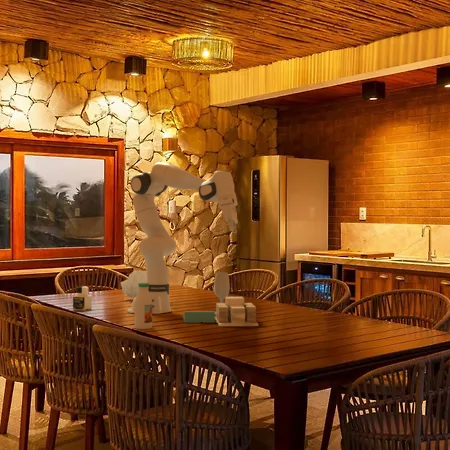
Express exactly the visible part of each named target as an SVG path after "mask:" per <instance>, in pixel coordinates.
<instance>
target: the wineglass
mask: <svg viewBox="0 0 450 450" xmlns="http://www.w3.org/2000/svg"><path fill="white" fill-rule="evenodd" d="M230 285H231V284H230V277H229V273H228V272H220V271H217V272H216V273H215V277H214V282H213V290H214V291H213V292H214V294H215V296H216V297H217V298H218V299H219V300H220V302H219V303H224V299H225V297H229V293H230V290H231V287H230ZM214 312H215V316H216V311H214Z"/></svg>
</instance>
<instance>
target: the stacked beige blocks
mask: <svg viewBox="0 0 450 450" xmlns="http://www.w3.org/2000/svg"><path fill="white" fill-rule="evenodd" d="M224 299H225V302H223V303H220V302H216V303H215V312H216V315H215V317H214V321H215V320H216V321H215V322H216V324H217V323H218V324H217V325H218V327H259V323H258V321H257V307H256V305H254V304H253V303H252V302H245V298H244V297H243V296H227V297H225V298H224Z"/></svg>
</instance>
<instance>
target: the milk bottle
mask: <svg viewBox="0 0 450 450" xmlns="http://www.w3.org/2000/svg"><path fill="white" fill-rule="evenodd" d="M138 286H139V292H138V295H137V297H136V300H135V313H134V329H137V330H150V329H152V328H153V314H152V299H151V296H150V294H149V291H148V288H149V283H139V284H138Z"/></svg>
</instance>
